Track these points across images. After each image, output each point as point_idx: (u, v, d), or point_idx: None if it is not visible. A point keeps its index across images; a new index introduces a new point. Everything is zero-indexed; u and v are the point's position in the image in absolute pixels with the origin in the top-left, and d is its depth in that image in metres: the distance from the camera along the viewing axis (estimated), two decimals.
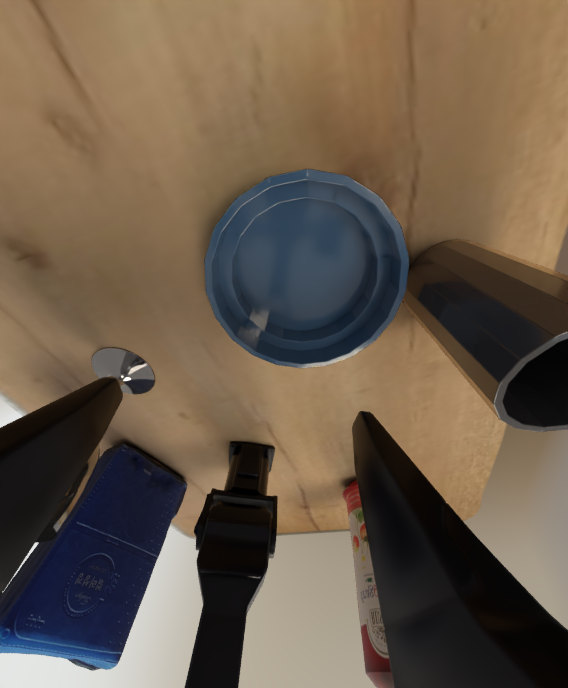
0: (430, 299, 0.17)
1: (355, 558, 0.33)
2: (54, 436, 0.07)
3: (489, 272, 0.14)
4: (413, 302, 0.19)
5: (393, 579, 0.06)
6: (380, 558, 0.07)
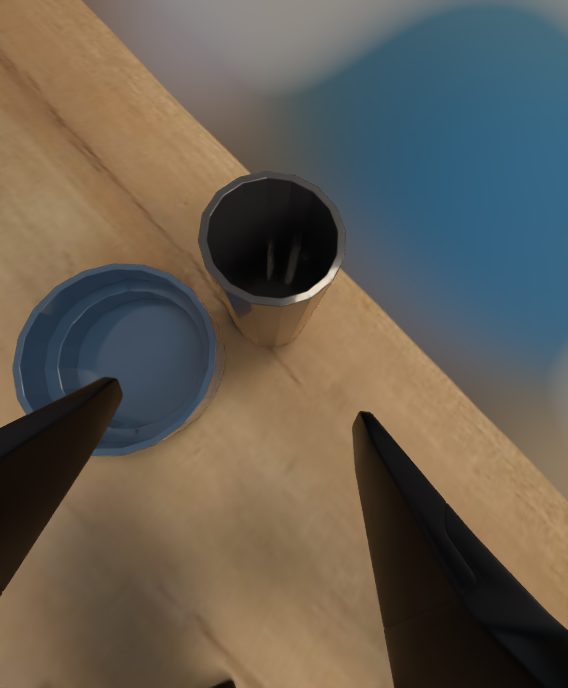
0: None
1: None
2: (54, 436, 0.07)
3: None
4: (238, 327, 0.20)
5: (393, 579, 0.06)
6: (380, 558, 0.07)
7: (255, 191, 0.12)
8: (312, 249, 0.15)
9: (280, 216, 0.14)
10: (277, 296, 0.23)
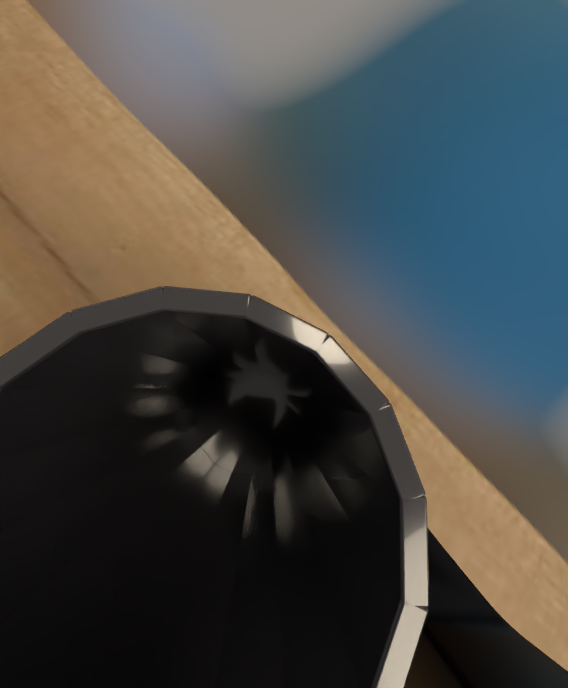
0: None
1: None
2: None
3: None
4: None
5: None
6: None
7: (144, 332, 0.04)
8: (312, 396, 0.07)
9: (238, 345, 0.06)
10: (258, 394, 0.15)
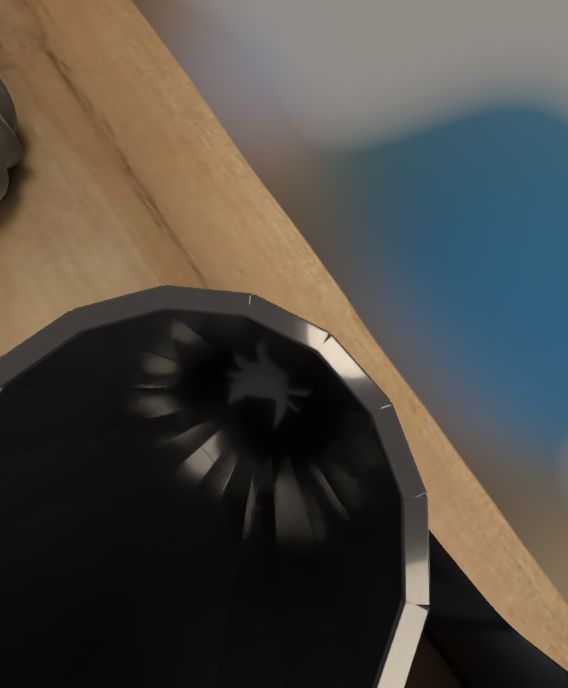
0: None
1: None
2: None
3: None
4: None
5: None
6: None
7: (145, 331, 0.04)
8: (313, 396, 0.07)
9: (239, 345, 0.06)
10: (258, 394, 0.15)
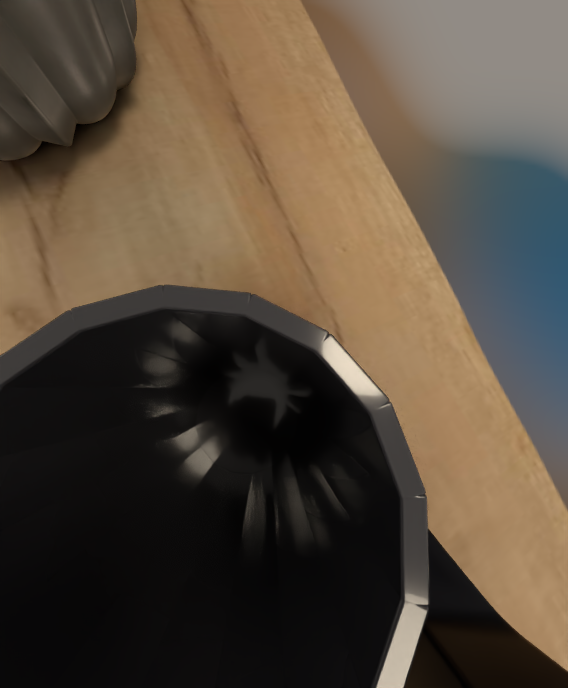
0: None
1: None
2: None
3: None
4: None
5: None
6: None
7: (144, 331, 0.04)
8: (312, 395, 0.07)
9: (239, 344, 0.06)
10: (258, 394, 0.15)
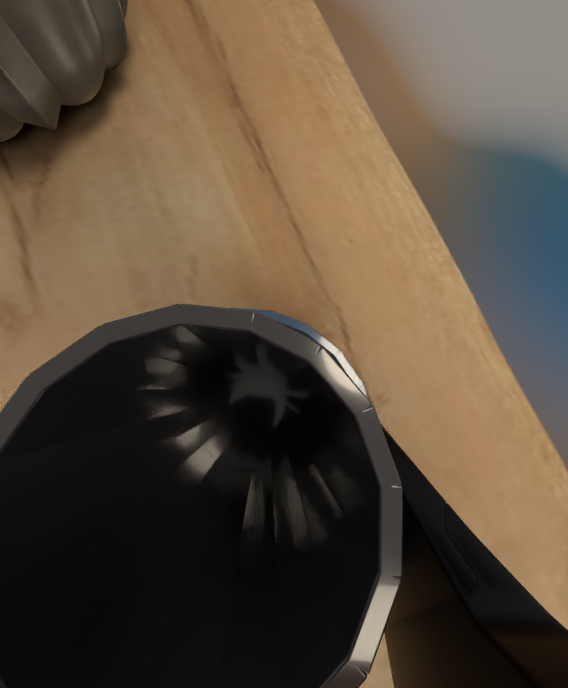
0: None
1: None
2: None
3: None
4: None
5: None
6: None
7: (161, 341, 0.05)
8: (309, 398, 0.08)
9: (242, 351, 0.07)
10: (258, 395, 0.16)
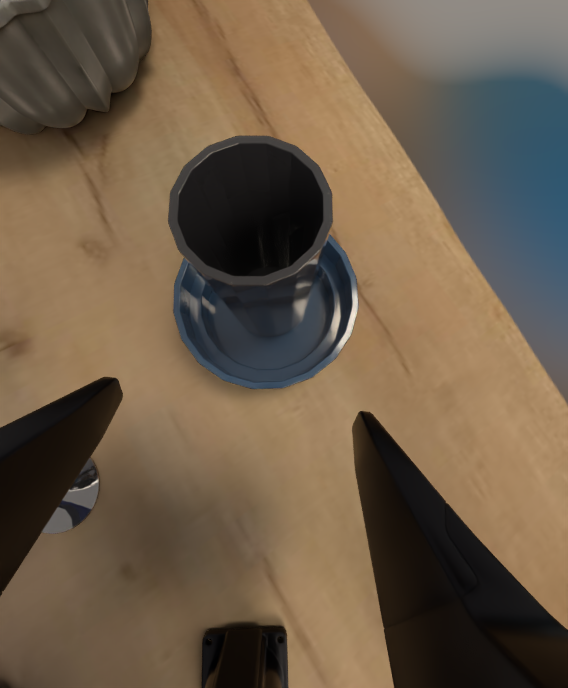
0: None
1: None
2: (54, 436, 0.07)
3: None
4: (235, 317, 0.19)
5: (393, 579, 0.06)
6: (379, 558, 0.07)
7: (228, 161, 0.11)
8: (302, 223, 0.14)
9: (262, 190, 0.13)
10: None
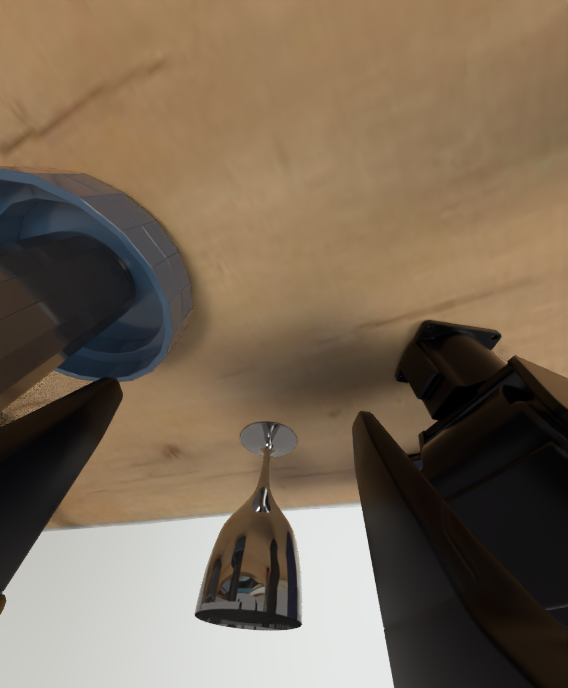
0: None
1: None
2: (54, 436, 0.07)
3: None
4: None
5: (393, 579, 0.06)
6: (380, 558, 0.07)
7: None
8: None
9: None
10: None
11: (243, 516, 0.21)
